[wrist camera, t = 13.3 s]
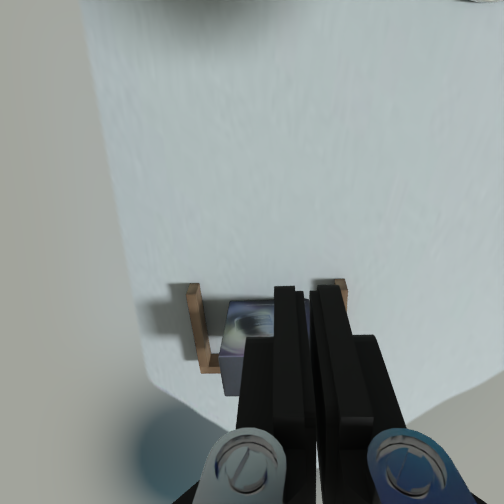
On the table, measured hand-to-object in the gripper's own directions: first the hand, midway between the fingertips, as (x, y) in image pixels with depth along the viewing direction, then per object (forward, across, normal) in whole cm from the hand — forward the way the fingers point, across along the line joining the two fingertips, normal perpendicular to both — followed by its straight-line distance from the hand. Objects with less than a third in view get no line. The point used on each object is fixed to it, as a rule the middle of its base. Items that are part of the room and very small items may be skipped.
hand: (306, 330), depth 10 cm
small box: (+32, +3, +25) cm, 41 cm away
